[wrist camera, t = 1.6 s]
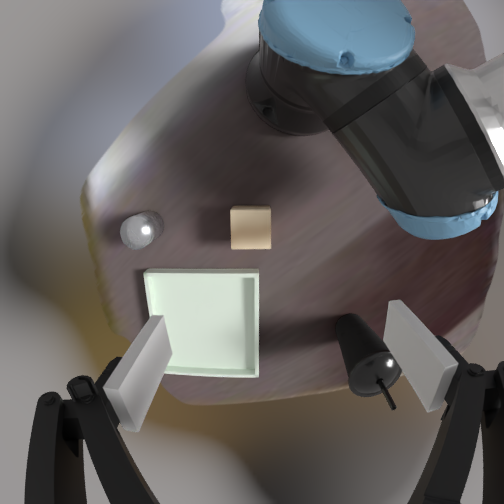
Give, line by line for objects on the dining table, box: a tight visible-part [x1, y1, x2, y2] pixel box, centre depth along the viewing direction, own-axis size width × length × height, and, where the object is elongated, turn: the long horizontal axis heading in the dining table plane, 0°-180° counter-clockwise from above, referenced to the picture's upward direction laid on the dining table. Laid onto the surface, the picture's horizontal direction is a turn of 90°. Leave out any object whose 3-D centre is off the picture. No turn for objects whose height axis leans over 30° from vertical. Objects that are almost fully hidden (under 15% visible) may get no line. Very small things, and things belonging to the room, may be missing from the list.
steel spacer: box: [120, 211, 164, 250], centre depth 38 cm, size 4×4×6 cm
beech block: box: [230, 205, 271, 249], centre depth 39 cm, size 5×5×5 cm
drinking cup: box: [335, 314, 402, 410], centre depth 35 cm, size 8×8×20 cm
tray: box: [143, 268, 259, 377], centre depth 44 cm, size 19×17×2 cm
